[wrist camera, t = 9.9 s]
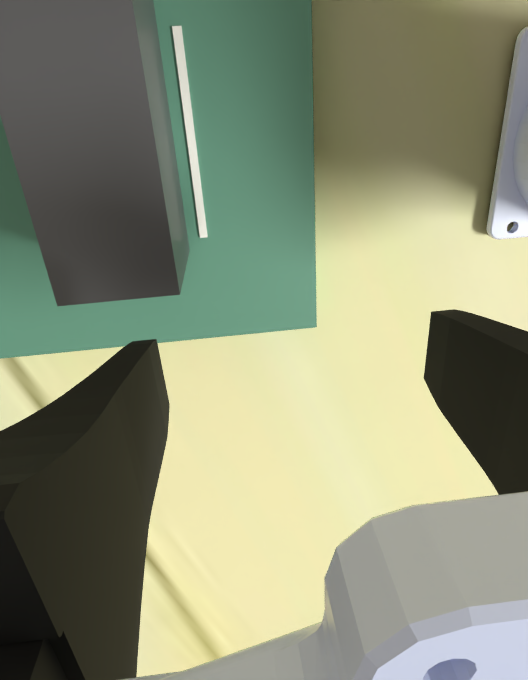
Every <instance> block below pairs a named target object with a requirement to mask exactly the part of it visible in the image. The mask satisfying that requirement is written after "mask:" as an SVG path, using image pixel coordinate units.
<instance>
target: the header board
mask: <svg viewBox="0 0 528 680" xmlns="http://www.w3.org/2000/svg"><path fill="white" fill-rule="evenodd" d="M153 2H154V9H155V16H156V23H157V30H158V36H159V43H160V50H161V57H162V64H163V71H164V78H165V84H166V91H167V98H168V105H169V112H170V119H171V126H172V132H173V139H174V146H175V153H176V160H177V167H178V174H179V181H180V187H181V194H182V201H183V208H184V215H185V222H186V229H187V235H188V242H189V249H190V251H189V256H188V260H187V265H186V270H185V274H184V279H183V284H182V288H181V293H180V295H173V296H162V297H151V298H141V299H130V300H120V301H109V302H99V303H88V304H78V305H67V306H57V303H56V300H55V297H54V293H53V290H52V287H51V283H50V280H49V277H48V273H47V270H46V267H45V263H44V260H43V257H42V253H41V250H40V247H39V243H38V240H37V237H36V233H35V230H34V227H33V223H32V220H31V216H30V213H29V210H28V206H27V203H26V200H25V196H24V193H23V190H22V186H21V183H20V180H19V176H18V173H17V170H16V166H15V163H14V160H13V156H12V153H11V150H10V146H9V143H8V140H7V136H6V133H5V130H4V126H3V123H2V120H1V116H0V358H10V357H20V356H30V355H41V354H51V353H61V352H71V351H81V350H91V349H101V348H111V347H121V346H126V345H128V344H129V343H131V342H132V341H140V340H151V339H156V340H157V343H162V342H172V341H182V340H192V339H202V338H212V337H222V336H232V335H243V334H253V333H263V332H273V331H283V330H293V329H303V328H313V327H317V323H316V258H315V192H314V127H313V61H312V0H153Z"/></svg>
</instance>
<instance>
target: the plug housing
mask: <svg viewBox="0 0 528 680" xmlns="http://www.w3.org/2000/svg"><path fill="white" fill-rule="evenodd" d="M0 116H1V120H2V123H3V126H4V130H5V133H6V136H7V140H8V143H9V146H10V150H11V153H12V156H13V160H14V163H15V166H16V170H17V173H18V176H19V180H20V183H21V186H22V190H23V193H24V196H25V200H26V203H27V206H28V210H29V213H30V216H31V220H32V223H33V227H34V230H35V233H36V237H37V240H38V243H39V247H40V250H41V253H42V257H43V260H44V263H45V267H46V270H47V273H48V277H49V280H50V283H51V287H52V290H53V293H54V297H55V300H56V303H57V306H67V305H78V304H88V303H99V302H109V301H120V300H130V299H141V298H151V297H162V296H173V295H180V293H181V288H182V284H183V279H184V274H185V270H186V265H187V260H188V256H189V251H190V249H189V242H188V235H187V229H186V222H185V215H184V208H183V201H182V194H181V187H180V181H179V174H178V167H177V160H176V153H175V146H174V139H173V132H172V126H171V119H170V112H169V105H168V98H167V91H166V84H165V78H164V71H163V64H162V57H161V50H160V43H159V36H158V30H157V23H156V16H155V9H154V2H153V0H0Z"/></svg>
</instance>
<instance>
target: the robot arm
mask: <svg viewBox="0 0 528 680" xmlns="http://www.w3.org/2000/svg"><path fill="white" fill-rule="evenodd" d="M510 222H513V227H512V228H511V229H510V230H509V231H507V226H508V224H509V223H510ZM487 233H488V235H489V236H491V237H492V238H495V239H508V238H518V237H528V26H527V27H525V28H524V29H523V30H521V32H520V33H519V35H518V37H517V40H516V44H515V50H514V56H513V63H512V69H511V76H510V82H509V88H508V95H507V101H506V107H505V114H504V120H503V126H502V133H501V139H500V145H499V152H498V158H497V165H496V171H495V177H494V184H493V190H492V196H491V203H490V209H489V215H488V222H487ZM424 379H425V382H426V384H427V386H428V388H429V390H430V392H431V394H432V396H433V398H434V400H435V402H436V404H437V406H438V407H439V409H440V410H441V412H442V413H443V415H444V416H445V418H446V419H447V420H448V422H449V423H450V425H451V426H452V427H453V429H454V430H455V432H456V433H457V434H458V436H459V437H460V439H461V440H462V441H463V443H464V444H465V445H466V447H467V448H468V450H469V451H470V452H471V454H472V455H473V456H474V458H475V459H476V461H477V462H478V463H479V465H480V466H481V467H482V469H483V470H484V472H485V473H486V475H487V476H488V478H489V479H490V481H491V482H492V484H493V485H494V487H495V489H496V490H497V492H498V494H499V495H494V496H485V497H477V498H468V499H460V500H452V501H443V502H435V503H427V504H418V505H412V506H409V507H405V508H402V509H399V510H396V511H392V512H389V513H386V514H383V515H379V516H376V517H373V518H371V519H370V520H369V521H367V522H366V523H365V524H364V525H362V526H361V527H360V528H359V529H357V530H356V531H355V532H354V533H353V534H351V535H350V536H349V537H348V538H346V539H345V540H344V541H343V542H341V543H340V544H339V545H338V546H337V547H336V550H335V552H334V555H333V558H332V560H331V563H330V566H329V568H328V571H327V573H326V576H325V611H324V616H323V621H322V622H320V623H317V624H314V625H311V626H308V627H306V628H303V629H300V630H297V631H294V632H291V633H289V634H286V635H283V636H280V637H277V638H275V639H272V640H269V641H266V642H263V643H260V644H258V645H255V646H252V647H249V648H246V649H244V650H241V651H238V652H235V653H232V654H229V655H227V656H224V657H221V658H218V659H215V660H213V661H210V662H207V663H204V664H201V665H198V666H196V667H193V668H190V669H187V670H184V671H181V672H173V673H166V674H158V675H151V676H143V677H136V673H137V656H138V642H139V627H140V613H141V600H142V589H143V578H144V566H145V556H146V547H147V537H148V528H149V522H150V516H151V510H152V505H153V501H154V496H155V492H156V487H157V483H158V478H159V473H160V469H161V464H162V460H163V455H164V450H165V446H166V441H167V434H168V421H169V400H168V395H167V390H166V385H165V380H164V375H163V370H162V365H161V360H160V355H159V350H158V345H157V340H156V339H151V340H140V341H132V342H131V343H129V344H128V345H126V346H125V347H124V348H122V349H121V350H120V351H119V352H117V353H116V354H115V355H114V356H113V357H111V358H110V359H109V360H108V361H107V362H105V363H104V364H103V365H102V366H100V367H99V368H98V369H97V370H96V371H94V372H93V373H92V374H91V375H89V376H88V377H87V378H85V379H84V380H83V381H81V382H80V383H79V384H77V385H76V386H75V387H73V388H72V389H70V390H69V391H68V392H66V393H65V394H64V395H62V396H61V397H59V398H58V399H56V400H55V401H53V402H52V403H50V404H49V405H47V406H46V407H44V408H42V409H41V410H39V411H37V412H35V413H34V414H32V415H30V416H29V417H27V418H25V419H23V420H22V421H20V422H18V423H16V424H14V425H12V426H10V427H8V428H6V429H4V430H2V431H0V680H528V332H527V331H524V330H521V329H518V328H515V327H512V326H509V325H506V324H503V323H500V322H497V321H494V320H491V319H488V318H485V317H482V316H479V315H475V314H472V313H468V312H464V311H460V310H445V311H435V312H431V319H430V328H429V337H428V346H427V355H426V364H425V373H424Z"/></svg>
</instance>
